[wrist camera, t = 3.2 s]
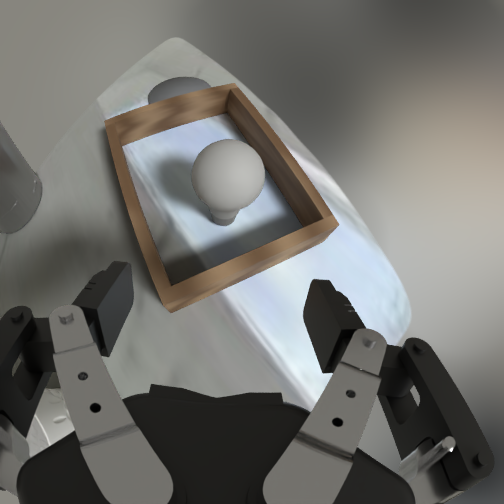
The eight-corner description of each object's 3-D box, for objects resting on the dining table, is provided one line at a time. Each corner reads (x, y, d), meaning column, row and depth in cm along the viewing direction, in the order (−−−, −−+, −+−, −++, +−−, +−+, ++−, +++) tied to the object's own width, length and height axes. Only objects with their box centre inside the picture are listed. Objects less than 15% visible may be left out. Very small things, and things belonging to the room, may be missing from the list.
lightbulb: (237, 254, 28) (254, 197, 18) (185, 231, 28) (174, 166, 18) (259, 207, 31) (282, 141, 20) (210, 187, 31) (213, 116, 21)
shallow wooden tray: (171, 313, 25) (163, 305, 21) (112, 144, 31) (104, 120, 27) (322, 242, 30) (339, 224, 26) (231, 106, 36) (234, 83, 32)
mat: (157, 122, 33) (157, 120, 33) (143, 88, 36) (142, 86, 36) (222, 104, 36) (222, 102, 36) (199, 73, 39) (199, 72, 38)
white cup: (65, 368, 21) (7, 369, 12) (114, 428, 20) (71, 459, 11) (30, 405, 18) (-26, 414, 9) (74, 461, 17) (29, 492, 8)
